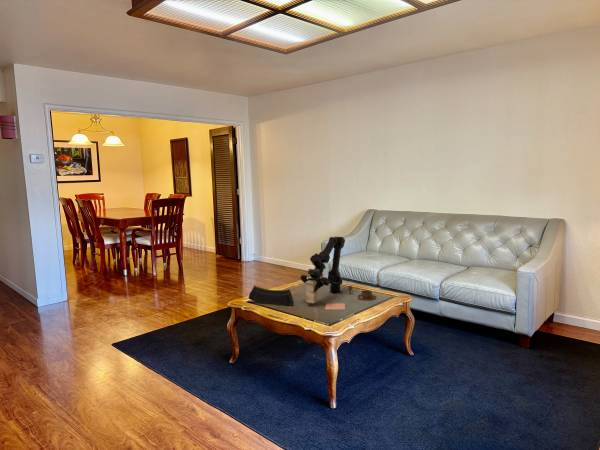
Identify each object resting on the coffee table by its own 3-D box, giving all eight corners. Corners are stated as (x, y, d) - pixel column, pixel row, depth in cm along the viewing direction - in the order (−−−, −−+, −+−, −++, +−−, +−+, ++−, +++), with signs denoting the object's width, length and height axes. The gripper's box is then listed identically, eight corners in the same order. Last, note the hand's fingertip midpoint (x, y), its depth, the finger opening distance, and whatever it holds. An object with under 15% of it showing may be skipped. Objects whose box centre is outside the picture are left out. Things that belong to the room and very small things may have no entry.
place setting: (357, 302, 265) (357, 293, 264) (346, 294, 284) (346, 286, 284) (382, 300, 269) (382, 291, 268) (370, 292, 288) (370, 284, 287)
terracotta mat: (325, 304, 261) (325, 303, 261) (344, 304, 260) (344, 303, 260) (325, 309, 249) (325, 309, 249) (345, 310, 248) (345, 309, 248)
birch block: (310, 299, 263) (309, 280, 261) (317, 300, 260) (316, 280, 258) (306, 301, 258) (305, 281, 257) (313, 303, 256) (312, 282, 254)
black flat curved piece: (297, 291, 259) (255, 275, 268) (295, 292, 256) (253, 276, 265) (290, 315, 263) (249, 299, 271) (288, 317, 260) (247, 300, 268)
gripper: (301, 262, 265) (292, 283, 256) (327, 265, 255) (319, 286, 247) (307, 272, 272) (299, 292, 264) (332, 274, 263) (325, 296, 254)
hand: (310, 291), depth 257 cm, fingers closed on birch block, 5 cm apart
